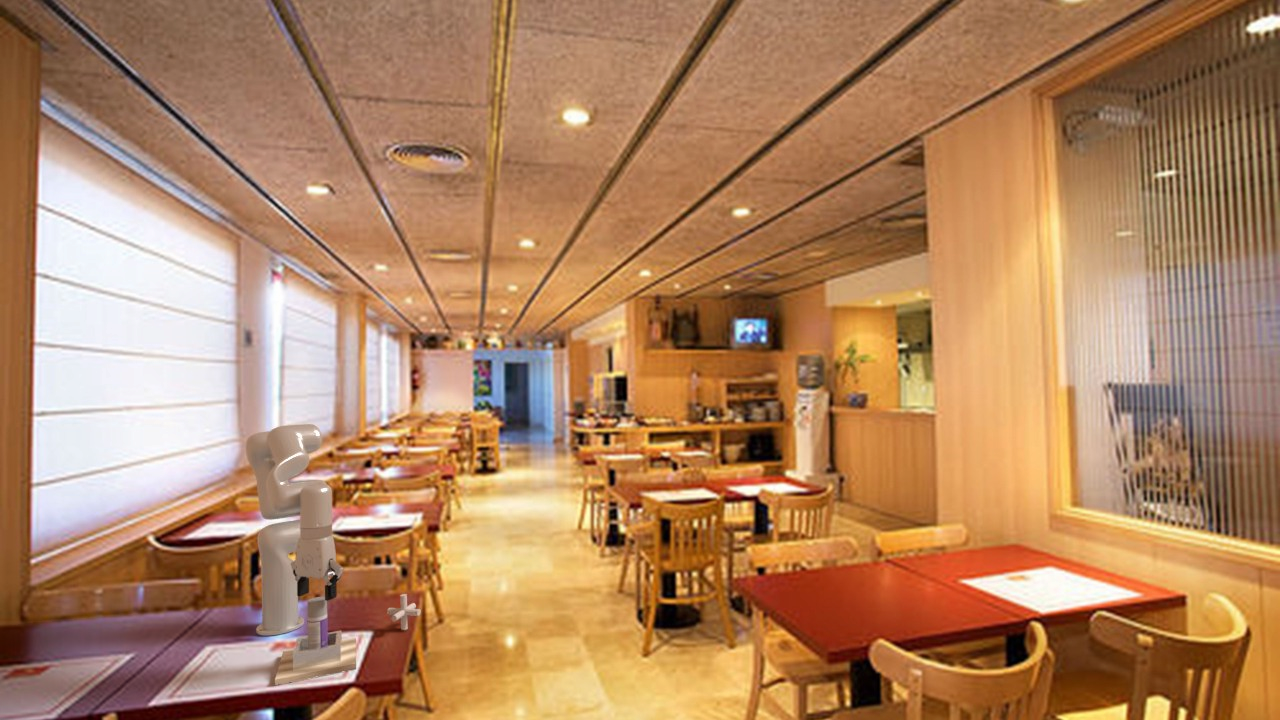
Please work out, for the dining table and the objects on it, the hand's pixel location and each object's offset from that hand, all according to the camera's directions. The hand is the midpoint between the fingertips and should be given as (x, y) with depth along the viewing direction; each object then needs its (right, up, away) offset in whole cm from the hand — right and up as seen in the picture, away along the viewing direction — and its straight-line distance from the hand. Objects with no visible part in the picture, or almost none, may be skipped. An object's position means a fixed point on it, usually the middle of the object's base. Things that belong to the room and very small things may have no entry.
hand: (316, 596), depth 164 cm
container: (+1, -16, -1) cm, 16 cm away
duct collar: (+1, -16, -1) cm, 16 cm away
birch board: (+1, -17, -1) cm, 17 cm away
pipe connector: (+16, -18, +20) cm, 31 cm away
